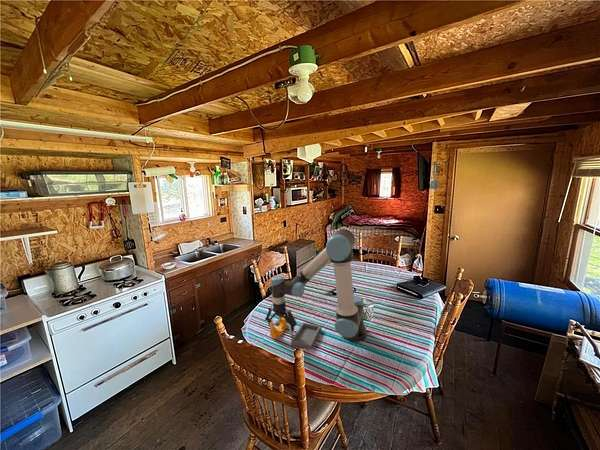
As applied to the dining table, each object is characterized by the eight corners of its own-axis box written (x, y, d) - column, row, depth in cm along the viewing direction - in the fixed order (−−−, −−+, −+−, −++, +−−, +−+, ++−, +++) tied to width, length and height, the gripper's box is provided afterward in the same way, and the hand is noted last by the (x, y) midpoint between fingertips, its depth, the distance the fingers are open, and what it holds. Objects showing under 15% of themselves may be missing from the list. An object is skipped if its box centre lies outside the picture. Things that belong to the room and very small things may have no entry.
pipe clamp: (276, 339, 145) (275, 329, 143) (270, 336, 147) (269, 327, 146) (289, 328, 154) (288, 319, 152) (283, 326, 156) (282, 317, 155)
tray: (321, 330, 150) (321, 325, 149) (311, 350, 134) (311, 345, 133) (303, 326, 154) (302, 322, 154) (291, 345, 138) (290, 340, 138)
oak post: (287, 320, 162) (287, 309, 160) (283, 325, 156) (283, 314, 155) (279, 318, 164) (278, 308, 162) (275, 324, 159) (274, 313, 157)
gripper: (300, 301, 143) (302, 333, 148) (263, 295, 153) (266, 325, 157) (295, 308, 136) (298, 341, 141) (257, 301, 146) (260, 332, 151)
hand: (281, 333), depth 149 cm, fingers open, 13 cm apart
